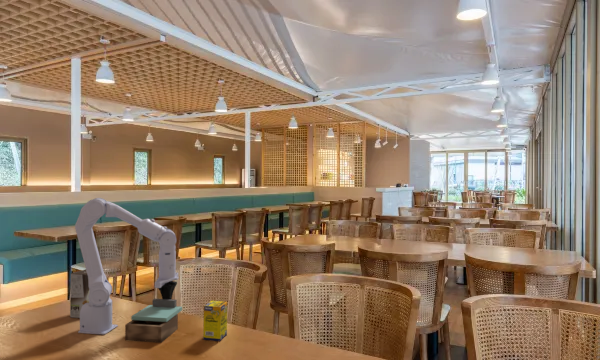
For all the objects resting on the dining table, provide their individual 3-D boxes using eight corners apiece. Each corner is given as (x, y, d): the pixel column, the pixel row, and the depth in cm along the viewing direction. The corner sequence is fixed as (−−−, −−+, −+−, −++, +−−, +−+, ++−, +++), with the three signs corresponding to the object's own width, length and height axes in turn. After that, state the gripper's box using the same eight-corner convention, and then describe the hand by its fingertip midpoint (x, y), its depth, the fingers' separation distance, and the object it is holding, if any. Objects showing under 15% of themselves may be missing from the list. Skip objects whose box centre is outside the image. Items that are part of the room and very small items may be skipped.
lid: (131, 319, 135) (131, 308, 135) (149, 308, 147) (149, 298, 147) (166, 321, 134) (166, 310, 134) (182, 310, 146) (182, 299, 146)
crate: (125, 340, 132) (125, 324, 132) (144, 326, 144) (144, 312, 144) (161, 342, 130) (161, 326, 130) (177, 328, 142) (177, 314, 142)
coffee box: (85, 318, 151) (85, 274, 151) (69, 317, 153) (69, 273, 152) (101, 310, 160) (102, 269, 160) (87, 309, 162) (87, 268, 161)
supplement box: (220, 341, 132) (220, 306, 131) (202, 340, 133) (203, 305, 133) (227, 334, 137) (227, 301, 137) (210, 333, 139) (210, 300, 138)
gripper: (168, 269, 139) (168, 310, 140) (186, 260, 154) (186, 297, 154) (148, 268, 140) (148, 309, 141) (168, 260, 155) (167, 296, 155)
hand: (167, 303), depth 147 cm, fingers closed
